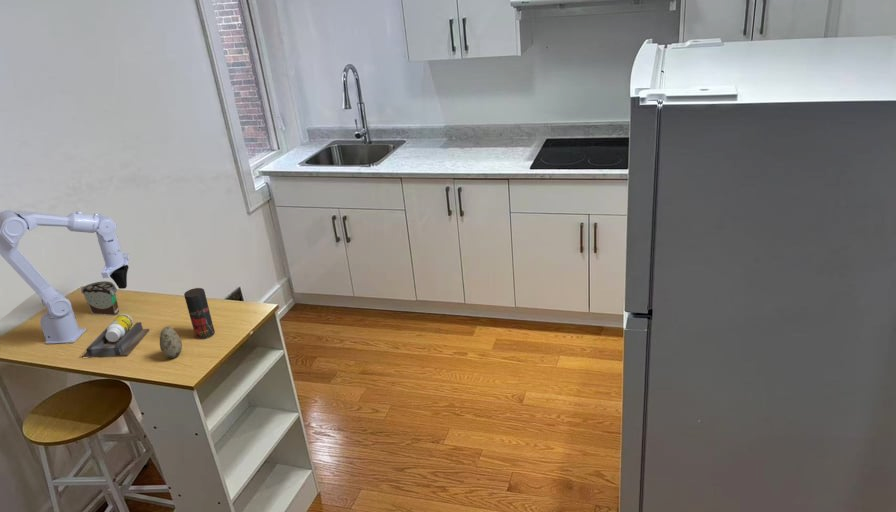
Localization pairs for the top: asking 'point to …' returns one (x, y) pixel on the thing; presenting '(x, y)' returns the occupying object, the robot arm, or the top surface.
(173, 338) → the decorative egg
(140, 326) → the bottle rest
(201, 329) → the deodorant
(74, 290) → the top surface
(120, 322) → the supplement bottle
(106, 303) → the food container
